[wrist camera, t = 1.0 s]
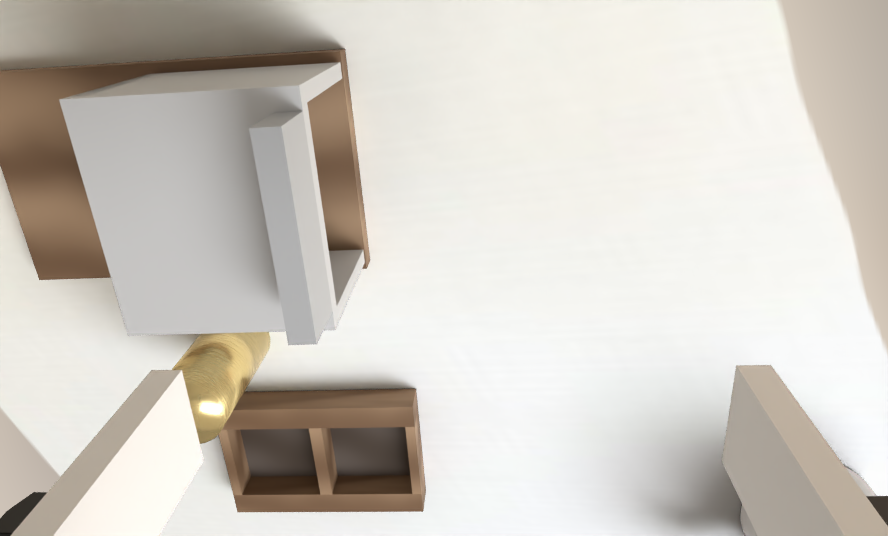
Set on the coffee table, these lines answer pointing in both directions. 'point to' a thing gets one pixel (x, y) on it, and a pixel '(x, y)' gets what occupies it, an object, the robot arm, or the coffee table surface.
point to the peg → (220, 375)
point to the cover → (213, 201)
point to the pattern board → (59, 179)
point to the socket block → (325, 451)
